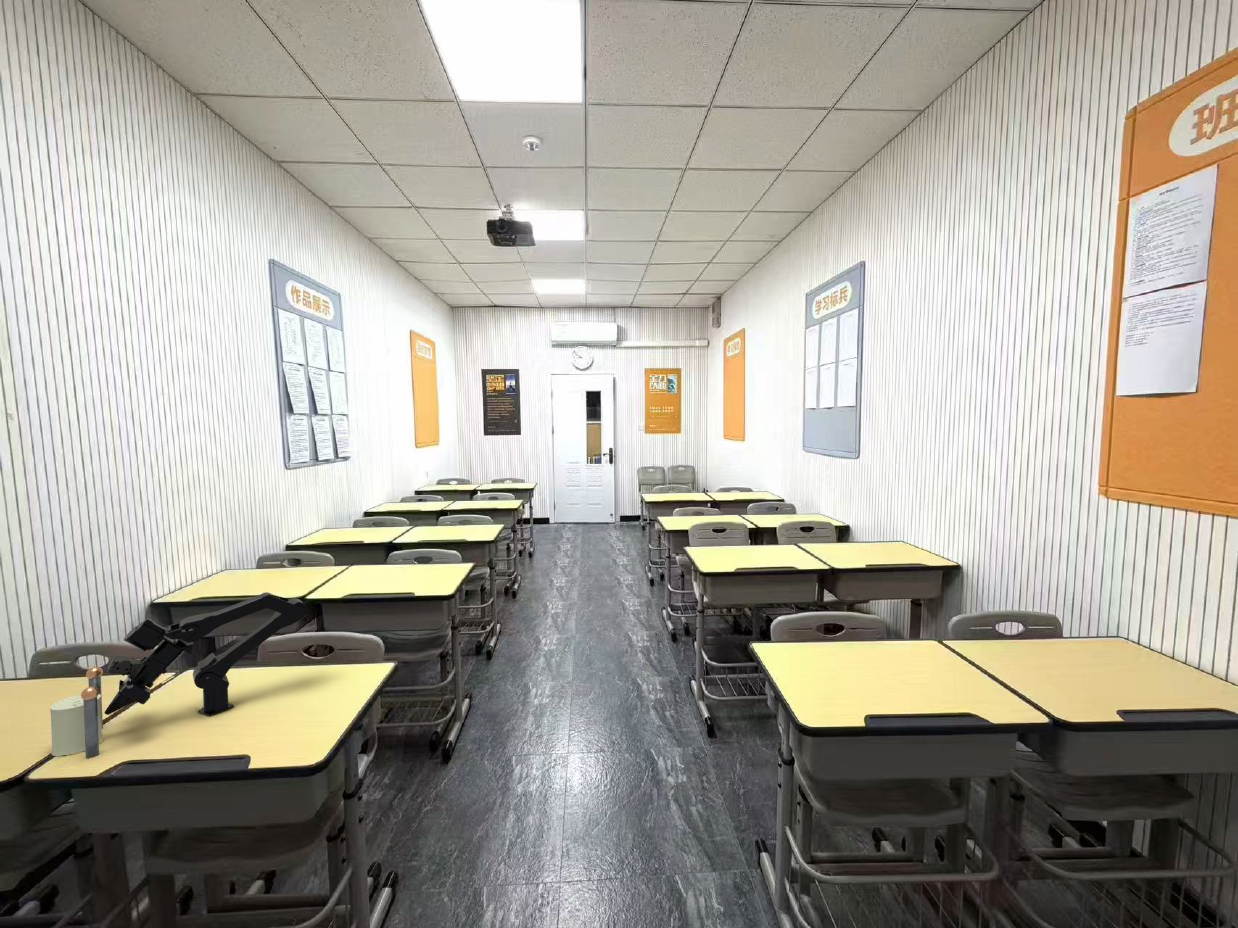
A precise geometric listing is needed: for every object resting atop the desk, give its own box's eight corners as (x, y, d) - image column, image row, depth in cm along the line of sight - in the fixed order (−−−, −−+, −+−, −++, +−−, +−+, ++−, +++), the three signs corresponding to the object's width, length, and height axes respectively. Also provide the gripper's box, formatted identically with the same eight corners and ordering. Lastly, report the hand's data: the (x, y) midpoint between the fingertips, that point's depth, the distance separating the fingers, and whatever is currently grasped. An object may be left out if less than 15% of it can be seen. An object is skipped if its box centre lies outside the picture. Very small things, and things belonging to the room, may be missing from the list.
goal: (101, 755, 132) (98, 687, 132) (82, 760, 130) (80, 691, 129) (105, 725, 147) (102, 663, 147) (88, 729, 145) (86, 667, 145)
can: (55, 760, 130) (53, 711, 130) (48, 748, 135) (46, 701, 135) (107, 743, 137) (105, 696, 137) (98, 733, 143) (96, 688, 143)
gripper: (131, 635, 150) (76, 687, 143) (130, 653, 136) (70, 711, 129) (169, 656, 155) (118, 707, 148) (172, 675, 141) (116, 732, 134)
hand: (106, 713), depth 140 cm, fingers closed
